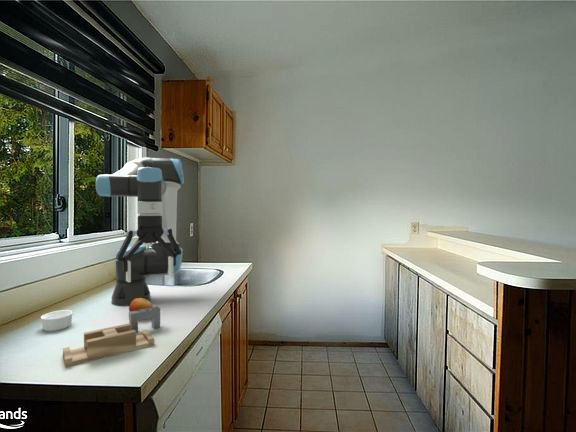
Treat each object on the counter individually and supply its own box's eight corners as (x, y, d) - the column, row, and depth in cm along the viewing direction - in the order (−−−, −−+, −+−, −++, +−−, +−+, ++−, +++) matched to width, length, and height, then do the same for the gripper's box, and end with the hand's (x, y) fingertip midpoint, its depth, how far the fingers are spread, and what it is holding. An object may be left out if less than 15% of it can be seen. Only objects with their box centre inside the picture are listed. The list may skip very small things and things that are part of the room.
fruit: (124, 311, 122) (136, 292, 123) (143, 320, 125) (155, 301, 126) (122, 318, 114) (135, 298, 116) (143, 327, 117) (155, 307, 119)
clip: (129, 331, 107) (129, 311, 107) (157, 324, 113) (157, 306, 113) (131, 334, 105) (131, 314, 105) (160, 327, 111) (160, 308, 110)
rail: (62, 355, 90) (62, 336, 90) (146, 335, 104) (146, 319, 104) (65, 367, 84) (64, 347, 84) (154, 344, 97) (154, 327, 97)
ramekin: (52, 333, 105) (52, 320, 105) (34, 329, 108) (34, 316, 108) (79, 324, 113) (78, 311, 113) (61, 320, 116) (61, 308, 116)
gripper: (110, 216, 97) (111, 286, 98) (190, 214, 113) (191, 275, 114) (105, 215, 103) (105, 281, 104) (182, 213, 119) (182, 271, 120)
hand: (150, 278), depth 109 cm, fingers open, 13 cm apart
